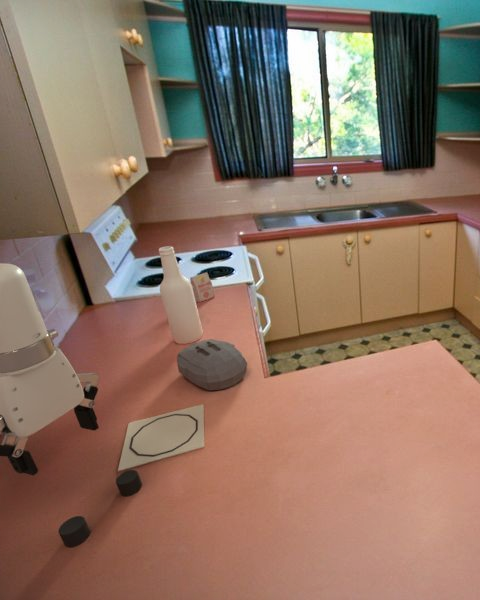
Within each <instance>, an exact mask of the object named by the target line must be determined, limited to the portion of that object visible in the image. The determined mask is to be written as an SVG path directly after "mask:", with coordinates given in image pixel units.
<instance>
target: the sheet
mask: <svg viewBox="0 0 480 600" xmlns="http://www.w3.org/2000/svg"><path fill="white" fill-rule="evenodd" d="M205 444H206V443H205V404H203V403H202V404H199V405H194V406H191V407H187V408H183V409H178V410H174V411H170V412H166V413H162V414H159V415H155V416H151V417H147V418H143V419H137V420H134V421H131V422H128V425H127V429H126V433H125V437H124V441H123V446H122V450H121V454H120V460H119V464H118V467H117V472H118V473H119V472H124V471H127V470H131V469H133V468H136V467H140V466H144V465H147V464H151V463H154V462H158V461H161V460H165V459H168V458H172V457H175V456H178V455H182V454H187V453H189V452H193V451H197V450H200V449H203V448H205V447H206V445H205Z"/></svg>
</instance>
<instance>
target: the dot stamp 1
mask: <svg viewBox="0 0 480 600" xmlns="http://www.w3.org/2000/svg"><path fill="white" fill-rule="evenodd" d="M57 531H58V534H59V537H60V539H61V541H62V542H63V545H64V546H65V547H66V548H75V547H77V546H80V545H81V544H82V543H84V542H85V541H86V540H87V539H88V538H89V537H90V534H91V529H90V526H89V525H88V523H87V521H86V518H85V517H84V516H82V515H76V516H72V517H70V518H69V519H66V520H65V521H64V522H63V523H62V524H61V525H60V526H59V528H58V530H57Z"/></svg>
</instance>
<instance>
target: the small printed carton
mask: <svg viewBox="0 0 480 600" xmlns="http://www.w3.org/2000/svg"><path fill="white" fill-rule="evenodd" d="M189 278H190V280H189V281H190V283H191V285H192V289H193V293H194V297H195V301H196V303H199V302H200V303H203V302H206V301H209V300H211V299H213V297H214V298H216V297H215V291H214V286H213V283H212V280H211V278H210V277H209V273H208V272H203V273H201V274H197V275H194V276H190V277H189ZM205 300H206V301H205ZM202 301H203V302H202ZM200 303H199V304H200Z"/></svg>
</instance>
